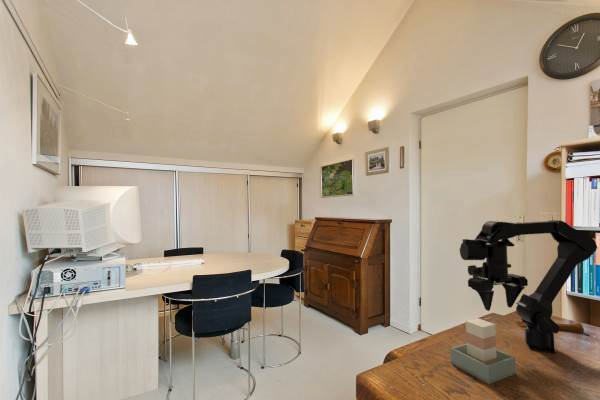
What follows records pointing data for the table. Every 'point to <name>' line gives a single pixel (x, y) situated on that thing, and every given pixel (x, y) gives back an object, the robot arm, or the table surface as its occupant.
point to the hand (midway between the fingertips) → (498, 308)
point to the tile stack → (481, 341)
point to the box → (483, 365)
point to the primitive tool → (561, 327)
